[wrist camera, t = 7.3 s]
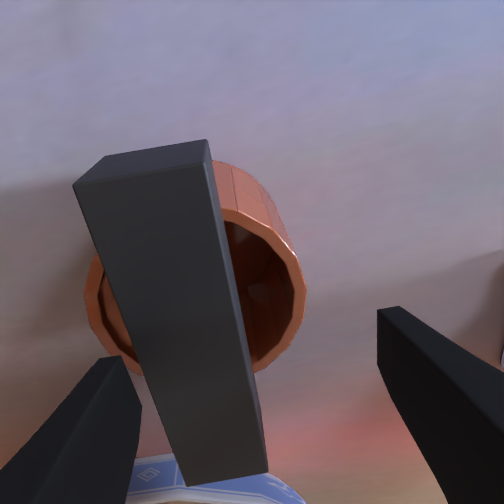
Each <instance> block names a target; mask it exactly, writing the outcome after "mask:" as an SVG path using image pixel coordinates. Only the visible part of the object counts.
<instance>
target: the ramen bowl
mask: <svg viewBox="0 0 504 504" xmlns="http://www.w3.org/2000/svg"><path fill="white" fill-rule="evenodd" d="M125 504H307V503H306V502H305V501H304V500H303V499H302V498H301V497H300V496H299V495H298V494H297V493H296V492H295V491H294V490H293V489H292V488H291V487H290V486H288V485H287V484H286V483H284V482H283V481H281V480H280V479H279V478H277V477H276V476H274V475H271V474H269V473H264V474H258V475H253V476H247V477H242V478H236V479H230V480H225V481H219V482H214V483H208V484H203V485H197V486H191V487H186V485H185V482H184V480H183V477H182V474H181V472H180V469H179V466H178V464H177V461H176V459H175V456H174V453H169V454H162V455H155V456H148V457H141V458H135V462H134V466H133V471H132V475H131V480H130V484H129V488H128V493H127V497H126V502H125Z"/></svg>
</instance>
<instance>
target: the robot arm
mask: <svg viewBox="0 0 504 504" xmlns="http://www.w3.org/2000/svg"><path fill="white" fill-rule="evenodd" d="M377 365H378V368H379V370H380V373H381V375H382V378H383V380H384V383H385V385H386V387H387V390H388V392H389V394H390V397H391V399H392V401H393V403H394V404H395V406H396V408H397V410H398V412H399V413H400V415H401V417H402V419H403V421H404V422H405V424H406V426H407V428H408V430H409V431H410V433H411V435H412V437H413V438H414V440H415V442H416V444H417V446H418V447H419V449H420V451H421V453H422V454H423V456H424V458H425V460H426V461H427V463H428V465H429V467H430V469H431V470H432V472H433V474H434V476H435V478H436V479H437V481H438V483H439V485H440V487H441V489H442V491H443V493H444V495H445V497H446V499H447V502H448V504H504V372H502V371H500V370H498V369H497V368H495V367H493V366H491V365H490V364H488V363H486V362H484V361H483V360H481V359H479V358H478V357H476V356H474V355H473V354H471V353H470V352H468V351H466V350H465V349H463V348H462V347H460V346H458V345H457V344H455V343H454V342H452V341H451V340H449V339H448V338H446V337H445V336H443V335H441V334H440V333H438V332H437V331H436V330H434V329H433V328H431V327H430V326H428V325H427V324H425V323H424V322H422V321H421V320H419V319H418V318H416V317H415V316H413V315H412V314H411V313H409V312H408V311H406V310H405V309H403V308H401V307H400V306H395V307H389V308H384V309H378V310H377ZM501 366H502V367H503V368H504V350H503V355H502V360H501ZM141 413H142V405H141V403H140V400H139V398H138V395H137V393H136V390H135V388H134V385H133V383H132V381H131V378H130V376H129V373H128V371H127V368H126V366H125V364H124V361H123V359H122V356H121V355H117V356H111V357H106V358H100V359H99V360H98V361H97V362H96V363H95V364H94V365H93V366H92V367H91V369H90V370H89V371H88V372H87V373H86V374H85V376H84V377H83V378H82V379H81V380H80V382H79V383H78V384H77V385H76V386H75V388H74V389H73V390H72V391H71V392H70V394H69V395H68V396H67V397H66V398H65V400H64V401H63V402H62V403H61V404H60V405H59V407H58V408H57V409H56V410H55V411H54V412H53V414H52V415H51V416H50V417H49V418H48V419H47V421H46V422H45V423H44V424H43V425H42V426H41V427H40V428H39V430H38V431H37V432H36V433H35V434H34V435H33V436H32V437H31V438H30V439H29V440H28V441H27V443H26V444H25V445H24V446H23V447H22V448H21V449H20V450H19V451H18V452H17V453H16V455H15V456H14V457H13V458H12V459H11V460H10V461H9V462H8V463H7V464H6V465H5V466H4V467H3V468H2V469H1V470H0V504H125V502H126V497H127V493H128V488H129V484H130V480H131V475H132V471H133V466H134V462H135V457H136V452H137V448H138V443H139V434H140V424H141Z"/></svg>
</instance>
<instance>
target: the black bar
mask: <svg viewBox="0 0 504 504" xmlns="http://www.w3.org/2000/svg"><path fill="white" fill-rule="evenodd" d="M72 187H73V190H74V192H75V195H76V198H77V200H78V203H79V205H80V208H81V211H82V213H83V216H84V219H85V221H86V224H87V227H88V229H89V232H90V234H91V237H92V240H93V242H94V245H95V248H96V250H97V253H98V256H99V258H100V261H101V263H102V266H103V269H104V271H105V274H106V277H107V279H108V282H109V285H110V287H111V290H112V292H113V295H114V298H115V300H116V303H117V306H118V308H119V311H120V314H121V316H122V319H123V321H124V324H125V327H126V329H127V332H128V335H129V337H130V340H131V343H132V345H133V348H134V350H135V353H136V356H137V358H138V361H139V364H140V366H141V369H142V372H143V374H144V377H145V379H146V382H147V385H148V387H149V390H150V393H151V395H152V398H153V401H154V403H155V406H156V408H157V411H158V414H159V416H160V419H161V422H162V424H163V427H164V430H165V432H166V435H167V437H168V440H169V443H170V445H171V448H172V451H173V453H174V456H175V459H176V461H177V464H178V466H179V469H180V472H181V474H182V477H183V480H184V482H185V485H186V487H191V486H197V485H203V484H208V483H214V482H219V481H225V480H230V479H236V478H242V477H247V476H253V475H258V474H264V473H268V471H269V469H268V461H267V454H266V446H265V439H264V431H263V423H262V416H261V409H260V403H259V398H258V393H257V388H256V383H255V378H254V373H253V368H252V363H251V358H250V353H249V348H248V342H247V337H246V332H245V327H244V322H243V317H242V312H241V307H240V302H239V297H238V292H237V287H236V281H235V276H234V271H233V266H232V261H231V256H230V251H229V246H228V241H227V236H226V231H225V226H224V220H223V215H222V210H221V205H220V200H219V195H218V190H217V185H216V180H215V175H214V170H213V165H212V159H211V154H210V149H209V144H208V141H207V140H206V139H203V140H197V141H191V142H185V143H179V144H173V145H167V146H161V147H155V148H149V149H144V150H138V151H132V152H126V153H120V154H114V155H108V156H105V157H103V158H102V159H101V160H100V161H99V162H98V163H96V164H95V165H94V166H93V167H92V168H91V169H90V170H88V171H87V172H86V173H85V174H84V175H83V176H82V177H80V178H79V179H78V180H77V181H76V182H75V183H74V184H73V186H72Z"/></svg>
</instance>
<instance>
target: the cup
mask: <svg viewBox="0 0 504 504" xmlns="http://www.w3.org/2000/svg"><path fill="white" fill-rule="evenodd" d="M212 165H213V170H214V175H215V180H216V185H217V190H218V195H219V200H220V205H221V210H222V215H223V220H224V226H225V231H226V236H227V241H228V246H229V251H230V256H231V261H232V266H233V271H234V276H235V281H236V287H237V292H238V297H239V302H240V307H241V312H242V317H243V322H244V327H245V332H246V337H247V342H248V348H249V353H250V358H251V363H252V368H253V373H256V372H258V371H260V370H262V369H264V368H265V367H267V366H268V365H269V364H270V363H271V362H272V361H273V360H275V359H276V358H277V357H278V356H279V355H280V354H281V353H282V352H283V351H285V350H286V349H287V348H288V346H289V345H290V343H291V342H292V340H293V338H294V336H295V334H296V332H297V331H298V329H299V327H300V325H301V323H302V321H303V318H304V310H305V301H306V292H307V289H306V284H305V280H304V277H303V274H302V271H301V268H300V264H299V261H298V258H297V256H296V253H295V251H294V249H293V246H292V244H291V241H290V239H289V237H288V234H287V232H286V229H285V227H284V225H283V222H282V220H281V217H280V215H279V213H278V210H277V208H276V206H275V204H274V202H273V201H272V199H271V198H270V196H269V195H268V193H267V192H266V190H265V189H264V188H263V187H262V186H261V185H260V184H259V183H258V181H256V180H255V179H254V178H253V177H251V176H250V175H249V174H247V173H246V172H244V171H242V170H241V169H239V168H237V167H234V166H232V165H230V164H226V163H223V162H220V161H214V160H212ZM84 299H85V304H86V309H87V314H88V319H89V324H90V326H91V329H92V330H93V332H94V333H95V334H96V336H97V337H98V339H99V340H100V342H101V343H102V345H103V346H104V348H105V349H106V351H107V352H108V353H109V354H110V355H111V356H117V355H121V356H122V359H123V361H124V364H125V366H126V367H127V368H129V369H130V370H131V371H133V372H134V373H136V374H138V375H141V376H144V374H143V372H142V369H141V366H140V364H139V361H138V358H137V356H136V353H135V350H134V348H133V345H132V343H131V340H130V337H129V335H128V332H127V329H126V327H125V324H124V321H123V319H122V316H121V314H120V311H119V308H118V306H117V303H116V300H115V298H114V295H113V292H112V290H111V287H110V285H109V282H108V279H107V277H106V274H105V271H104V269H103V266H102V263H101V261H100V258H99V256H98V253H97V252H96V254H95V255H94V257H93V258H92V261H91V264H90V268H89V272H88V276H87V280H86V285H85V289H84Z"/></svg>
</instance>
